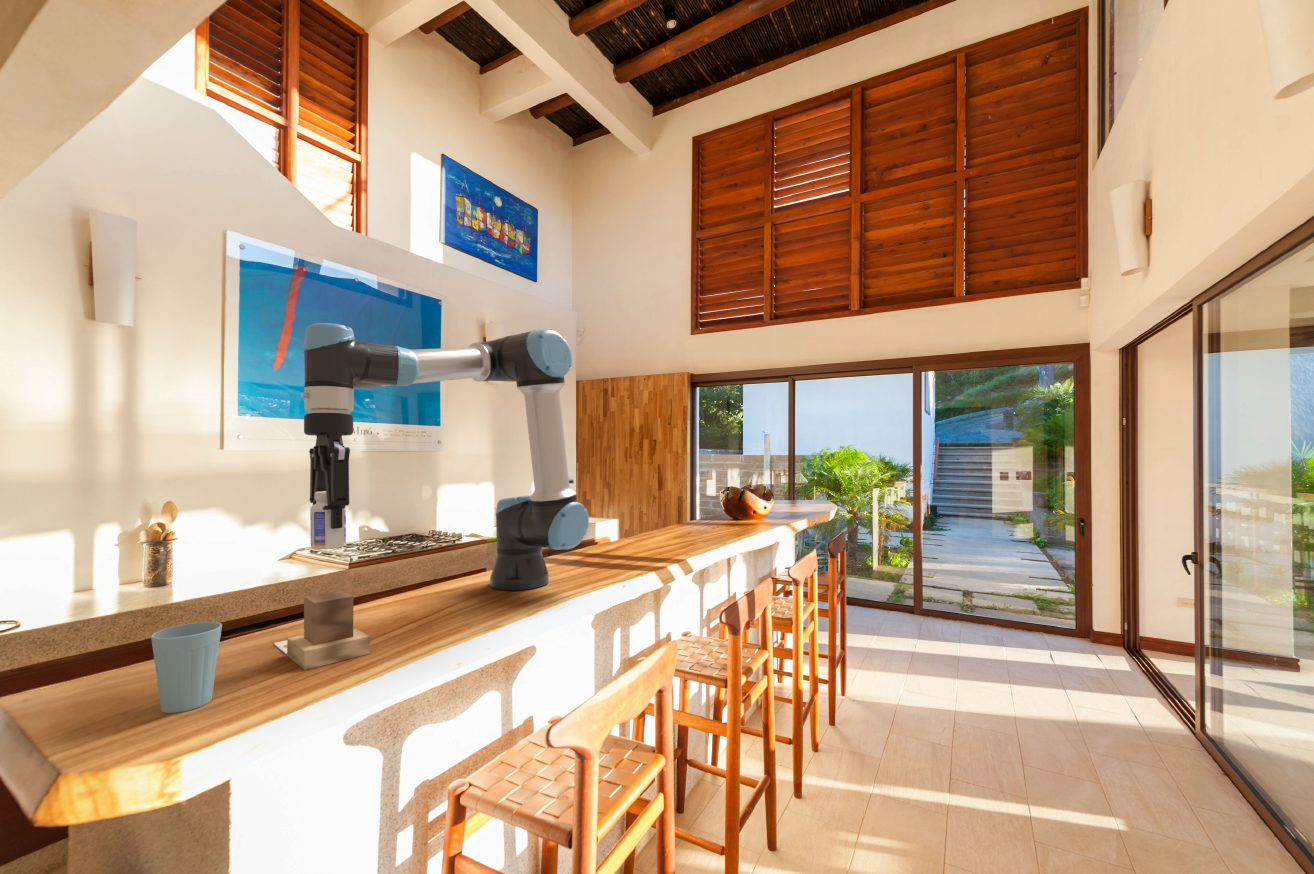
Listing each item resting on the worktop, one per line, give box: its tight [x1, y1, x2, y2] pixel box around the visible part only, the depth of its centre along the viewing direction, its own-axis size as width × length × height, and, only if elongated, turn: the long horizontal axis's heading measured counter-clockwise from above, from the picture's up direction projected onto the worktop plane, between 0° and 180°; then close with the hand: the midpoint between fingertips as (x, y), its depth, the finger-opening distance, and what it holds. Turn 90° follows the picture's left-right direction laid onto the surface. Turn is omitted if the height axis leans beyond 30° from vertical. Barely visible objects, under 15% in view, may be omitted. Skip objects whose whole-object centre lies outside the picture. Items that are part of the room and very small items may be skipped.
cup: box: [150, 621, 223, 714], centre depth 80 cm, size 8×8×10 cm
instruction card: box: [273, 640, 287, 655], centre depth 106 cm, size 10×8×1 cm
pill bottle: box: [309, 491, 347, 550], centre depth 100 cm, size 5×5×10 cm
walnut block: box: [303, 590, 354, 645], centre depth 100 cm, size 6×6×7 cm
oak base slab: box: [286, 626, 371, 671], centre depth 99 cm, size 10×10×3 cm
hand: (328, 545), depth 100 cm, fingers closed on pill bottle, 5 cm apart
